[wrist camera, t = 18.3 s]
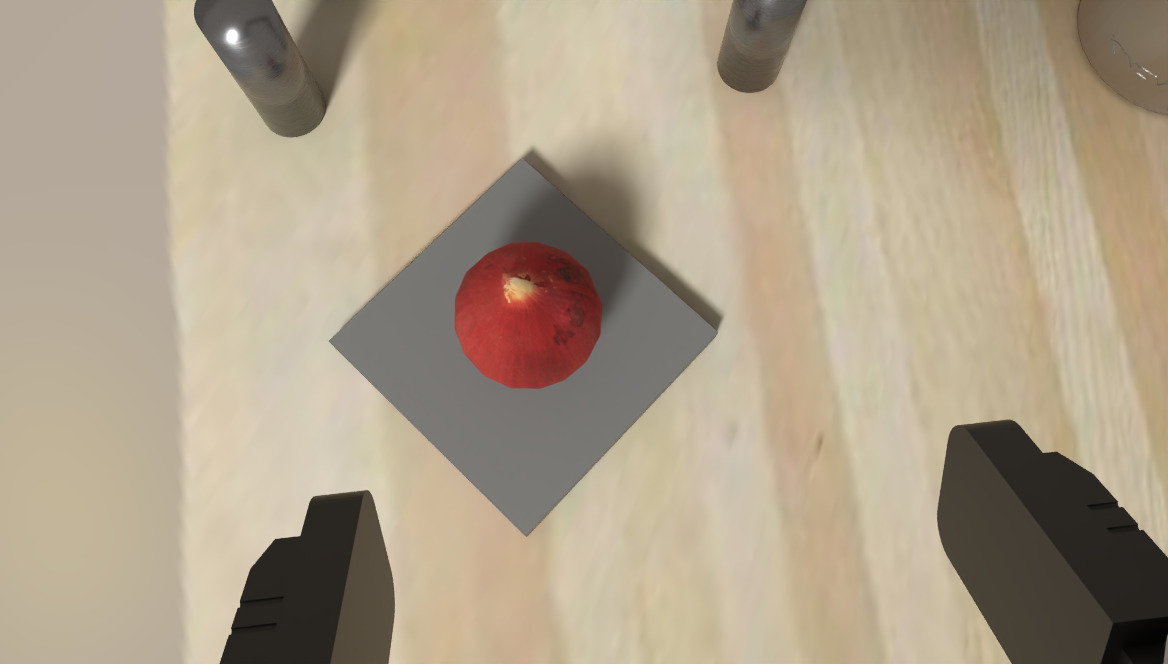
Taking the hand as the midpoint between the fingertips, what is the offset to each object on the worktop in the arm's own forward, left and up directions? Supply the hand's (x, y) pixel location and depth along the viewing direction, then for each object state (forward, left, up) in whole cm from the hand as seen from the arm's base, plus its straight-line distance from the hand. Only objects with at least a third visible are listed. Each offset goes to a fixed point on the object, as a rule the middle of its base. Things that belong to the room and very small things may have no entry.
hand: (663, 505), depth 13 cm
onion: (-4, -9, -26) cm, 28 cm away
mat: (-4, -9, -27) cm, 28 cm away
